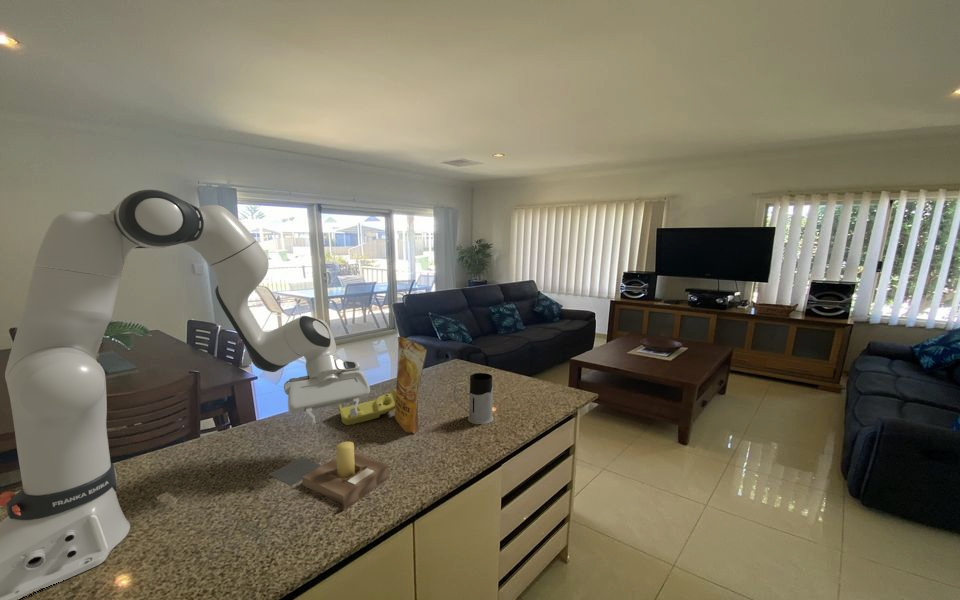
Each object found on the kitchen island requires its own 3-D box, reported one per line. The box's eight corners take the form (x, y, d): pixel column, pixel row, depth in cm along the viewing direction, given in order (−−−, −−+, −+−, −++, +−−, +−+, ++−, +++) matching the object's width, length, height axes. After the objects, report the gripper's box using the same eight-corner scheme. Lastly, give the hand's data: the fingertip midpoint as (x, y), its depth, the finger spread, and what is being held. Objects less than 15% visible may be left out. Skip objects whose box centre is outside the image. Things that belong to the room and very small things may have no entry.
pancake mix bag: (408, 410, 134) (406, 334, 131) (429, 432, 118) (428, 346, 114) (389, 414, 131) (387, 336, 127) (408, 438, 115) (407, 348, 111)
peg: (345, 491, 89) (344, 451, 88) (334, 486, 91) (332, 447, 90) (358, 482, 92) (357, 444, 91) (347, 477, 94) (345, 440, 93)
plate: (291, 491, 89) (291, 485, 88) (268, 480, 93) (268, 474, 93) (324, 472, 96) (323, 466, 96) (301, 462, 101) (301, 457, 101)
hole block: (344, 510, 82) (343, 495, 82) (302, 490, 89) (302, 476, 89) (388, 477, 94) (388, 464, 94) (349, 462, 101) (349, 449, 101)
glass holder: (498, 421, 126) (498, 378, 124) (458, 429, 120) (459, 384, 118) (486, 411, 134) (486, 371, 132) (449, 418, 128) (449, 376, 126)
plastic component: (342, 421, 121) (337, 398, 128) (343, 436, 125) (338, 413, 132) (403, 405, 129) (395, 385, 137) (402, 420, 133) (394, 399, 141)
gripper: (283, 373, 94) (292, 425, 88) (364, 361, 106) (377, 406, 99) (281, 385, 98) (290, 436, 92) (359, 372, 110) (371, 416, 104)
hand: (336, 420), depth 96 cm, fingers open, 8 cm apart
